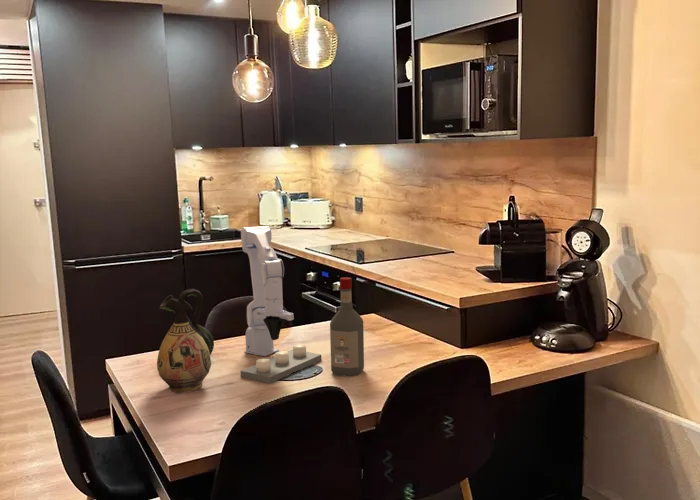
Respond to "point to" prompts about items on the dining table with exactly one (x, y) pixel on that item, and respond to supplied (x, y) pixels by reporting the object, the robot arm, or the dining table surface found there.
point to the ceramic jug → (183, 346)
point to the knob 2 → (299, 350)
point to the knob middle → (282, 357)
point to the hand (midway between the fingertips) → (275, 339)
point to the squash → (207, 338)
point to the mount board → (281, 368)
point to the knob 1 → (263, 365)
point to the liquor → (346, 336)
